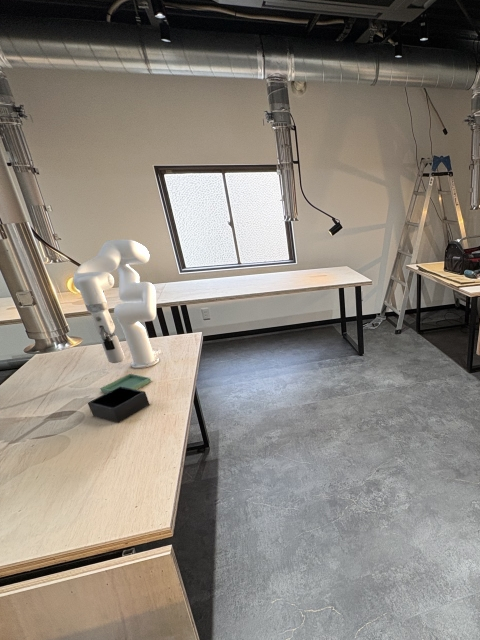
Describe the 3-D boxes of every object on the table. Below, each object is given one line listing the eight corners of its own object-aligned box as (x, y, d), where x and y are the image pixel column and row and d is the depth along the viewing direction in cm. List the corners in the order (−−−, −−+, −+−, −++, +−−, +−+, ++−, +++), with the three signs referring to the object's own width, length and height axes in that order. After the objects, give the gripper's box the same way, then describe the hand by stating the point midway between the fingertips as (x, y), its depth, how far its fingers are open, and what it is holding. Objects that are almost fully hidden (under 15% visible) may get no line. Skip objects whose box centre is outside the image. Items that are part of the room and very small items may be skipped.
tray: (131, 377, 196) (129, 373, 196) (151, 381, 192) (150, 377, 191) (101, 392, 184) (100, 388, 183) (122, 396, 180) (120, 392, 179)
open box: (125, 399, 178) (120, 386, 175) (149, 404, 173) (145, 391, 170) (93, 416, 166) (87, 402, 163) (118, 423, 161) (113, 409, 158)
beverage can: (118, 364, 179) (108, 338, 173) (105, 363, 180) (95, 338, 174) (128, 358, 184) (119, 333, 178) (116, 357, 185) (107, 332, 180)
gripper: (104, 311, 164) (119, 352, 173) (110, 300, 179) (124, 338, 187) (82, 314, 162) (98, 355, 170) (90, 302, 176) (105, 341, 185)
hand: (112, 346), depth 179 cm, fingers closed on beverage can, 6 cm apart
